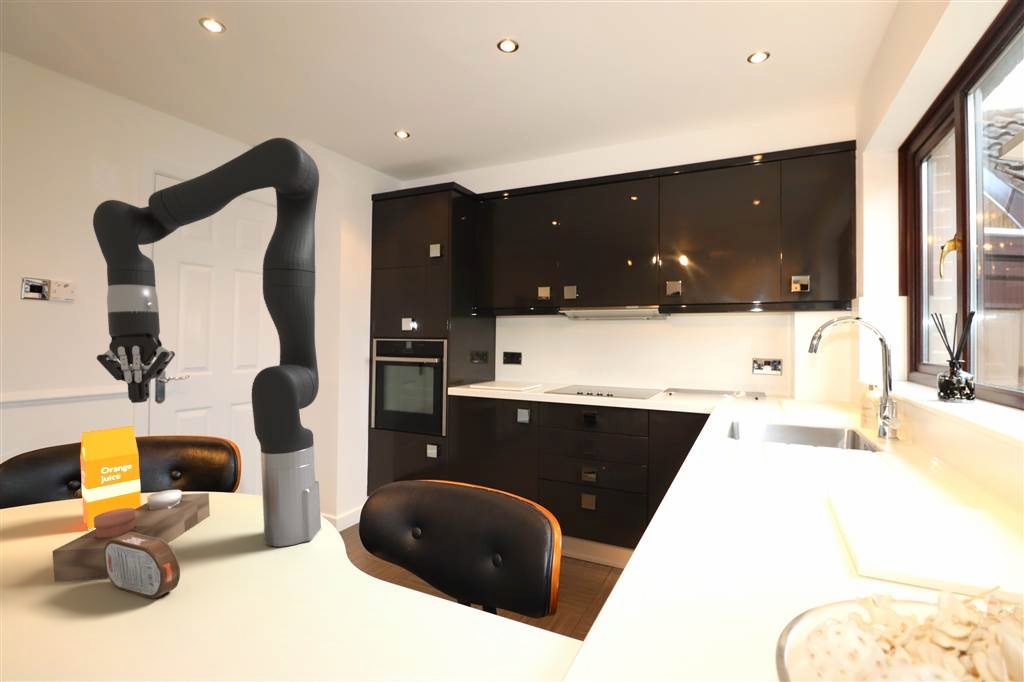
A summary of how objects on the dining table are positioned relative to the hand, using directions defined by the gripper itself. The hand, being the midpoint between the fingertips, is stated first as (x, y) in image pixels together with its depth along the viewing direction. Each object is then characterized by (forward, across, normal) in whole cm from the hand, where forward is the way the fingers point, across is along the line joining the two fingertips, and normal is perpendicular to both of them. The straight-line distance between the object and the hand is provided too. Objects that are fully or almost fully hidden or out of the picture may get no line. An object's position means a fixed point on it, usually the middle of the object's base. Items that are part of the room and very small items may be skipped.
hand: (139, 402), depth 89 cm
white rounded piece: (+26, +1, -7) cm, 27 cm away
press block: (+27, +1, -1) cm, 27 cm away
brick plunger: (+25, +1, +6) cm, 26 cm away
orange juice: (+27, +17, -15) cm, 35 cm away
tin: (+28, -10, +18) cm, 34 cm away
